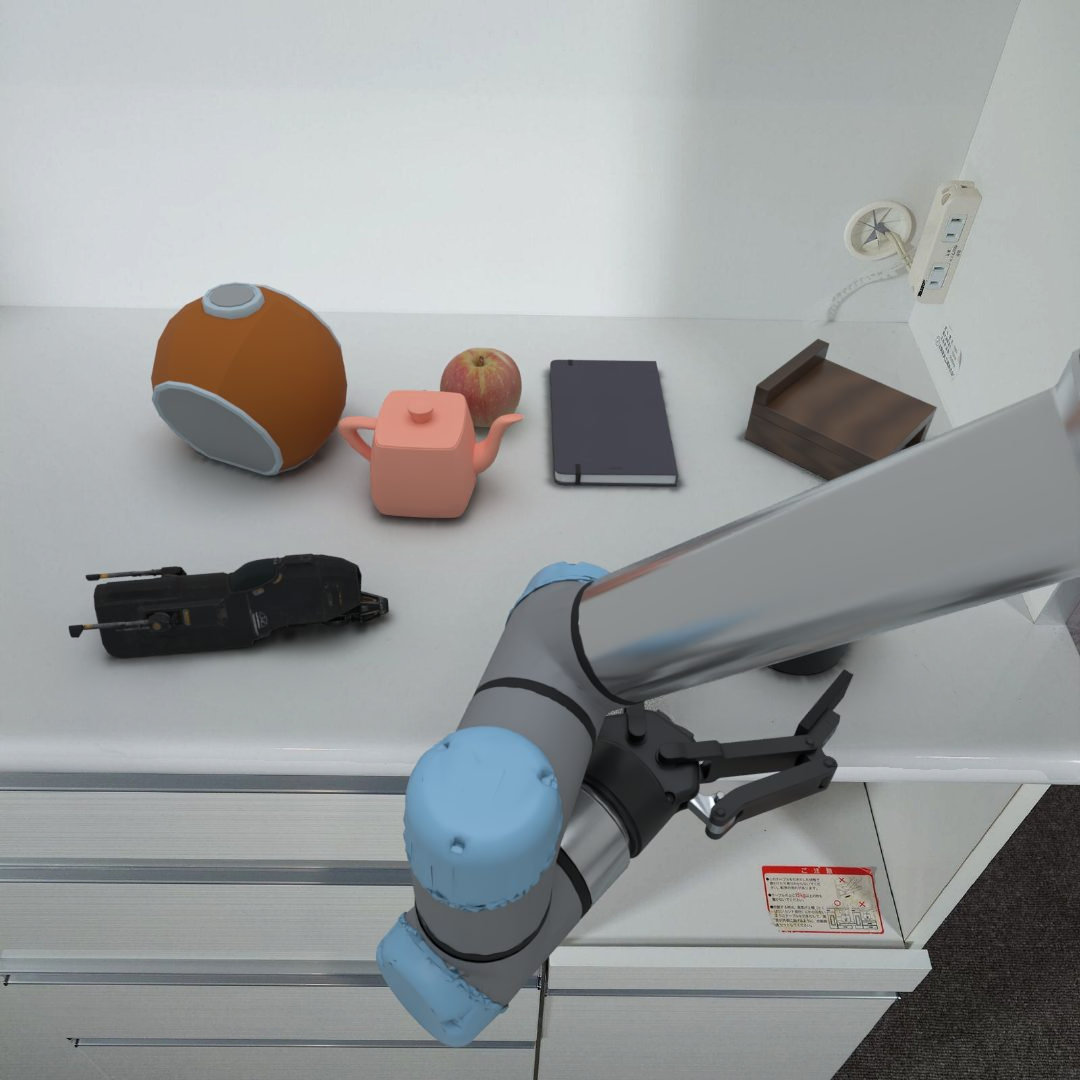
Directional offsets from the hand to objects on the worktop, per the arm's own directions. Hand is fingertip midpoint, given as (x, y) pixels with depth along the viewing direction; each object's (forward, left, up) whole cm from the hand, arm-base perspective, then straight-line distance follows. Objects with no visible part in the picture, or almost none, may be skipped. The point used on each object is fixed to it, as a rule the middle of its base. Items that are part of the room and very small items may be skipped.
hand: (765, 634), depth 71 cm
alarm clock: (+57, +7, -8) cm, 58 cm away
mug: (0, -9, -8) cm, 12 cm away
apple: (+43, -12, -8) cm, 45 cm away
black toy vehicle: (+36, +24, -8) cm, 44 cm away
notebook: (+32, -21, -8) cm, 39 cm away
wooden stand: (+12, -36, -8) cm, 39 cm away
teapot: (+38, 0, -8) cm, 39 cm away
